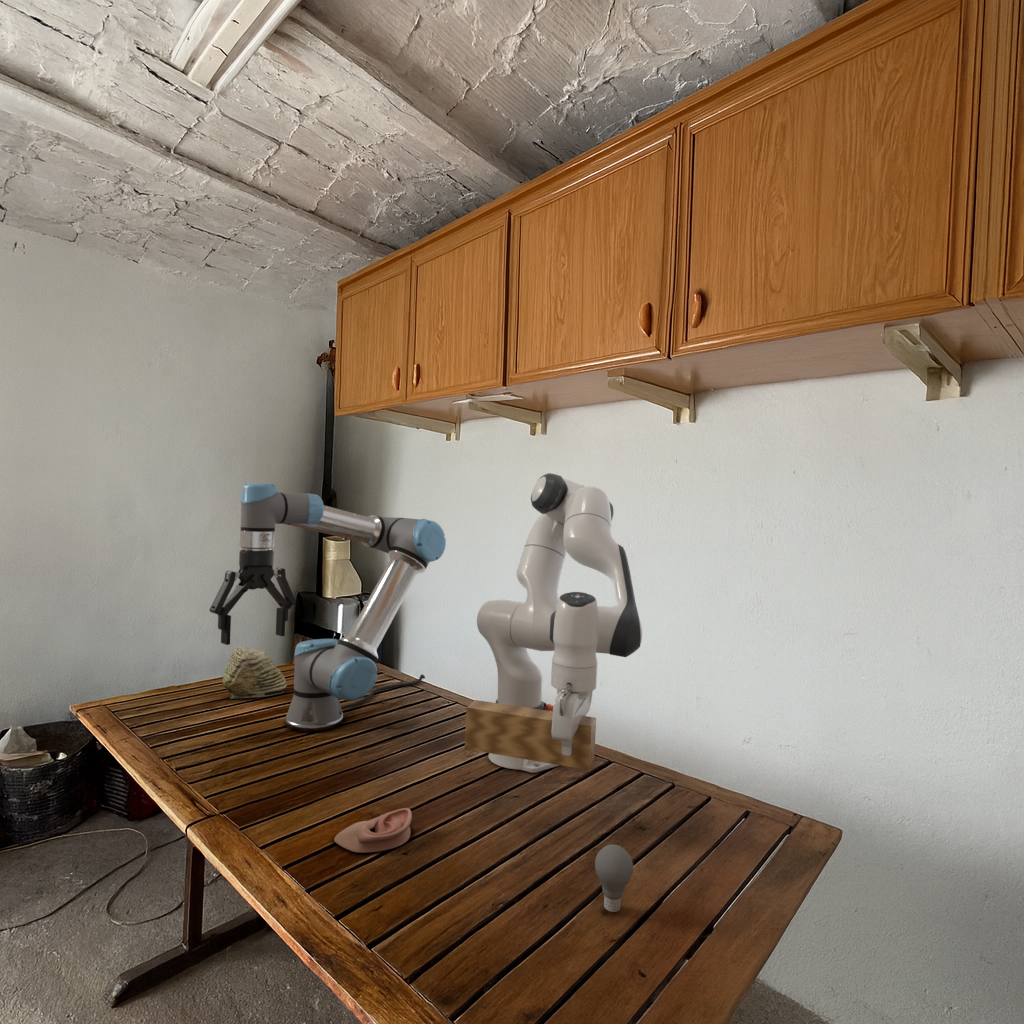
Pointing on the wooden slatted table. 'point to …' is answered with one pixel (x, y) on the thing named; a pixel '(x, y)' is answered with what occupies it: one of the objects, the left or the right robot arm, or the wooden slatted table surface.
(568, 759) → the bar
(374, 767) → the wooden slatted table surface
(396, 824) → the anatomical model
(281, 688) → the fossil
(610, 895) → the light bulb
